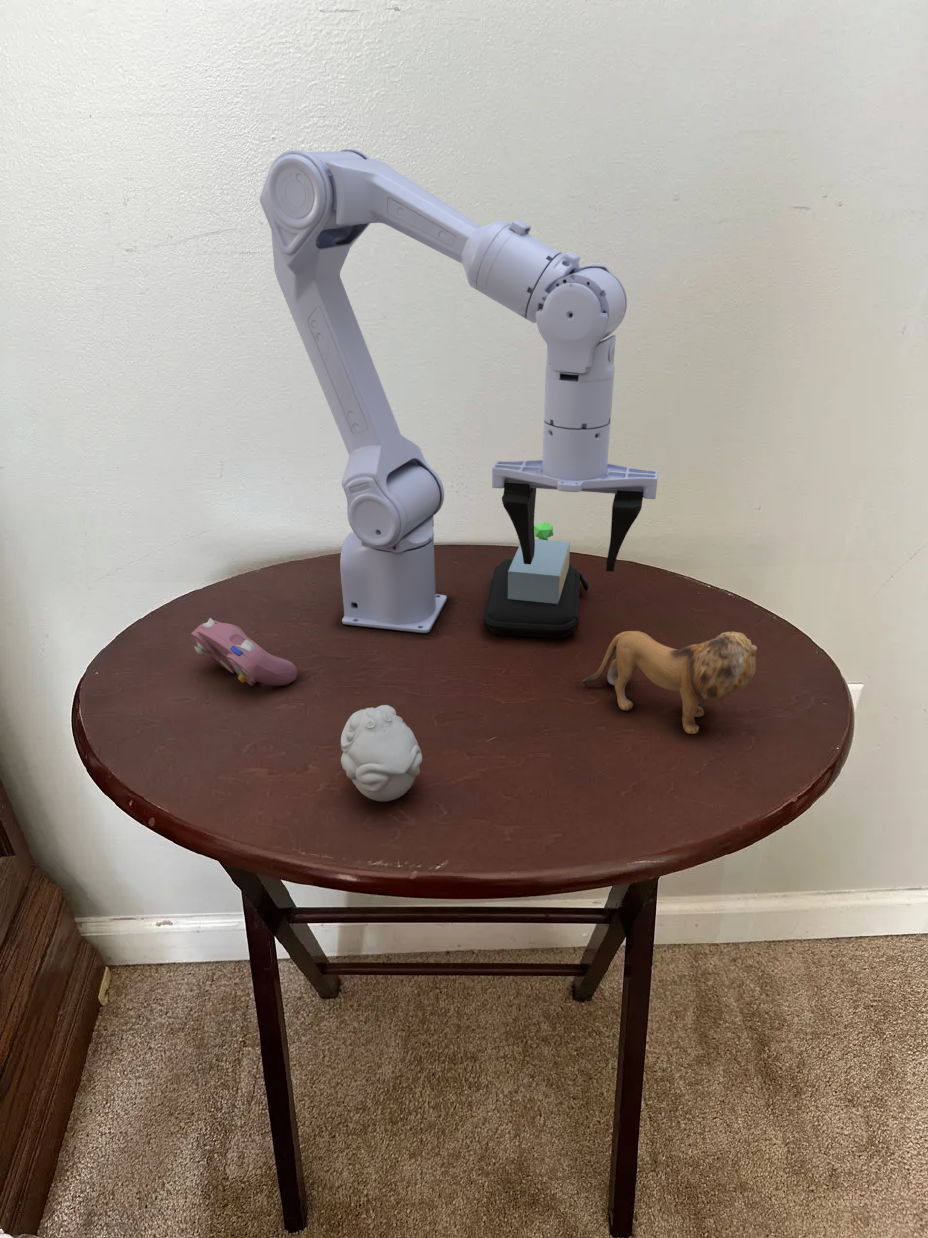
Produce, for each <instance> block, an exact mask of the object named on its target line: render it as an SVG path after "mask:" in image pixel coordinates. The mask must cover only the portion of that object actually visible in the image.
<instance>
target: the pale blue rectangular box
mask: <svg viewBox="0 0 928 1238" xmlns="http://www.w3.org/2000/svg"><path fill="white" fill-rule="evenodd" d="M538 539H539V538H538ZM538 539H537V538H535V551H534V557H533V560H532V563H531V564H524V562H523V554H522V549H521V545H520V544H519V546H518V548H517V550H516V552H515V555H514V557H513V558H512V559H513V561H512V564H511V566H510V568H509V571H508V599H513V600H523V601H533V602H543V603H553V604H558V602H559V599H560V596H561V592H562V589H563V585H564V582H565V579H566V575H567V572H568V568H569V563H570V555H571V553H570V552H571V542H570V541H563V540H562V541H561V540H549V539H548V540H538Z"/></svg>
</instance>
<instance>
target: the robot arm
mask: <svg viewBox="0 0 928 1238" xmlns="http://www.w3.org/2000/svg"><path fill="white" fill-rule="evenodd" d="M259 203H260V205H261V208H262V210H263V213H264V215H265V218H266V220H267V223H268V225H269V229H270V231H271V232H270V233H271V243H272V255H273V256H272V257H273V269H274V273H275V276H276V280H277V282H278V285H279V287H280V290H281V292H282V295H283V298H284V299H285V302H286V305H287V307H288V310H289V312H290V314H291V316H292V319H293V321H294V324H295V326H296V329H297V331H298V334H299V336H300V339H301V341H302V343H303V346H304V348H305V351H306V354H307V356H308V358H309V360H310V362H311V363H310V364H311V365H312V368H313V370H314V373H315V375H316V377H317V380H318V382H319V385H320V388H321V390H322V392H323V394H324V397H325V400H326V402H327V404H328V407H329V410H330V412H331V414H332V417H333V419H334V421H335V424H336V427H337V429H338V431H339V434H340V437H341V438H342V441H343V443H344V447H345V448H346V451H347V454H348V458H347V463H346V466H345V469H344V472H343V475H342V479H341V487H342V489H343V491H344V495H345V497H346V505H347V506H346V514H347V520H348V524H349V526H350V529H351V530H352V531H350V532H349V533H348V534H347V535H346V536H345V538H344V541H343V543H342V546H341V551H340V559H339V560H340V561H339V569H340V570H339V571H340V582H341V592H342V603H343V617H342V619H341V622H342V624H343V625H346V626H347V625H348V626H357V627H364V628H365V627H366V628H375V629H383V630H394V631H401V632H411V633H420V634H429V633H430V632H431V630H432V628H433V626H434V624H435V623H436V620H437V619H438V617H439V615H440V613H441V611H442V610H443V608H444V606H445V605H446V602H447V600H448V597H447V595H445V594H439V593H436V567H435V565H436V564H435V563H436V561H435V536H434V535H435V531H434V530H435V529H434V527H435V522H434V520H435V519H434V516H435V515H436V514H438V513H439V511H440V510H441V509H442V507H443V505H444V501H445V489H444V485H443V483H442V479H441V477H440V476H439V475H438V473H437V472H436V471H435V470H434V469H433V468H432V467H431V466H430V464H429V462H427V460H426V459H425V457H424V454H423V452H422V449H421V447H420V446H419V445H418V444H417V443H415V442H413V441H411V440H410V439H408V438H406V437H405V436H403V434H402V433H401V431H400V429H399V425H398V424H397V421H396V417H395V416H394V413H393V410H392V408H391V405H390V402H389V400H388V398H387V395H386V392H385V389H384V387H383V384H382V382H381V379H380V377H379V374H378V372H377V369H376V366H375V364H374V361H373V358H372V356H371V353H370V350H369V348H368V346H367V344H366V340H365V338H364V335H363V332H362V330H361V327H360V325H359V322H358V319H357V317H356V315H355V312H354V309H353V306H352V304H351V301H350V298H349V296H348V294H347V291H346V289H345V286H344V283H343V281H342V278H341V271H342V269H343V266H344V263H345V262H346V259H347V257H348V255H349V252H350V249H351V248H352V246H353V245H354V244H356V242H357V241H358V239H359V238H360V237H361V236H362V234H363V233H364V232H365V231H366V229H367V228H368V227H369V226H370V225H371V224H384V225H386V226H387V227H390V228H391V229H393V230H396V231H398V232H400V233H401V234H403V235H405V236H408V237H409V238H412V239H413V240H415V241H417V242H419V243H421V244H423V245H424V246H427V247H429V248H431V249H432V250H435V251H436V252H438V253H440V254H441V255H445V256H447V257H448V258H450V259H452V260H454V261H457V262H458V263H460V264H462V267H463V270H464V272H465V276H466V280H467V282H468V285H469V286H470V287H471V288H473V289H475V290H476V291H478V292H479V293H481V294H483V295H485V296H486V297H488V298H490V299H491V300H493V301H495V302H497V303H498V304H500V305H502V306H503V307H505V308H507V309H508V310H510V311H512V312H514V313H515V314H517V315H518V316H520V317H522V318H524V319H526V320H527V321H528V322H531V323H532V324H536V326H537V330H538V332H539V335H540V337H542V339H543V340H544V342H545V343H546V364H545V375H544V376H545V379H544V409H543V433H542V435H543V436H542V458H541V459H536V460H535V459H534V460H532V459H531V460H510V461H507V460H496V461H495V463H494V464H493V466H492V468H491V487H492V489H503V494H502V496H501V502H502V506H503V508H504V509H505V511H506V512H507V515H508V517H509V518H510V521H511V523H512V525H513V527H514V530H515V532H516V535H517V538H518V541H519V545H521V549H522V554H523V562H524V564H531V563H532V560H533V557H534V551H535V539H536V536H535V528H534V526H535V513H536V512H535V510H536V499H537V489H543V490H556V491H559V492H566V493H580V492H586V493H599V494H600V493H601V494H611V495H612V494H613V495H614V497H613V501H612V507H611V523H610V539H609V547H608V552H607V558H606V566H605V571H606V572H611V573H614V572H615V569H616V568H615V566H616V562H617V558H618V555H619V552H620V550H621V547H622V544H623V542H624V540H625V538H626V536H627V535H628V532H629V531H630V529H631V527H632V526H633V524H634V523H635V521H636V519H637V518H638V517H639V514H640V513H641V510H642V507H643V499H647V500H655V499H656V497H657V487H658V478H659V471H658V470H650V469H641V468H635V467H629V466H624V465H619V464H613V463H609V447H610V435H611V422H612V409H613V394H614V379H615V352H616V339H617V336H616V335H615V334H613V333H614V332H616V330H617V329H618V328H619V326H620V325H621V324H622V322H623V320H624V319H625V316H626V312H627V307H628V306H627V305H628V299H627V292H626V290H625V287H624V285H623V283H622V281H621V280H620V279H619V278H618V277H617V276H616V275H615V274H614V273H612V272H611V271H610V270H609V268H607V266H605V265H603V264H588V265H584V266H581V267H580V260H581V256H580V255H579V254H577V253H575V252H573V251H567V252H565V253H563V252H561V251H559V250H558V249H556V248H554V247H553V246H551V245H549V244H547V243H545V242H544V241H542V240H540V239H538V238H536V237H534V236H533V235H531V234H530V231H531V229H532V225H530V224H529V223H527V222H525V221H523V220H522V219H514V220H511V222H509V221H506V220H504V219H498V220H495V221H493V222H491V223H489V224H487V225H484V226H483V225H481V223H480V224H479V223H478V222H477V221H475V220H474V219H472V218H470V217H469V216H467V215H466V214H464V213H463V212H462V211H460V210H458V209H457V208H455V207H453V206H452V205H450V203H449V204H448V203H447V202H446V201H444V200H443V199H441V198H439V197H438V196H436V195H435V194H433V193H432V192H430V191H429V190H427V189H425V188H424V187H422V186H421V185H419V184H418V183H416V182H415V181H413V180H411V179H410V178H408V177H407V176H405V175H403V174H402V173H401V172H399V171H397V170H396V169H395V168H394V167H392V166H391V165H390V164H389V163H387V162H385V161H382V160H379V159H376V158H370V156H368V155H367V154H366V153H365V152H363V151H360V150H358V149H352V148H347V149H346V148H344V149H342V150H339V151H335V150H334V151H306V150H303V149H302V150H300V149H290V150H286V151H284V152H282V153H280V154H279V155H277V157H276V158H275V159H274V160H273V161H272V163H271V165H270V167H269V169H268V171H267V175H266V178H265V180H264V183H263V187H262V189H261V193H260V195H259Z"/></svg>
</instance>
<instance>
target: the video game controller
mask: <svg viewBox="0 0 928 1238" xmlns="http://www.w3.org/2000/svg"><path fill="white" fill-rule="evenodd" d="M190 636H191V638H192V639H193V640H194V642H195V643H196V645H197V646H196V645H195V646H194V650H195V652H196V653H197V654H198V655H200V656H204V657H205V656H206V654H209V655H210V656H211V657H213V658H214V659H215V660H216V662H218V664H220V665H221V666H222V667H224V668H225V669H226V670H227V671H228V672H230V673H232V674H234V673H236V674H237V675H238V678H237V679H238V681H240V682H241V683H245V682H246V683H247V684H248V685H250V686H252V687H253V686H254V685H255V684H256V683H262V684H265V685H269V686H287V685H289V684H291V683H293V682H294V681H295V680H296V678H297V675H298V669H297V667H296V665H295V664H294V663H293V662H292V661H290V660H288V659H286V658H281V657H278V656H276V655H273V654H271V653H270V652H267V650H265V649H264V648H262V647H261V646H260V645H258V644H257V643H256V642H255V641H254V640H253V639H251V638H250V637H249V636H247V635H246V634H245V632H244V631H243V630H242V629H241V628H240V627H239V626H237V625H235V624H232V623H228V622H221V621H218V620H213V619H212V618H211V617H209V618H208V620H207V621H206V622H204V623H201V624H199V625H198V626H197V627H196V628H195V629H194V630H192V632H191V633H190ZM205 653H206V654H205Z"/></svg>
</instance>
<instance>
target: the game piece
mask: <svg viewBox="0 0 928 1238" xmlns="http://www.w3.org/2000/svg"><path fill="white" fill-rule="evenodd" d="M534 534H535V538H538V540H549V538H550V537H553V536H554V527H553V524H551V523H548V522H546V521H542V522H541V523H538V524H536V525H534Z"/></svg>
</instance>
